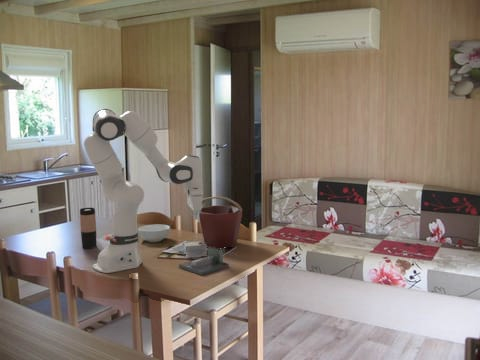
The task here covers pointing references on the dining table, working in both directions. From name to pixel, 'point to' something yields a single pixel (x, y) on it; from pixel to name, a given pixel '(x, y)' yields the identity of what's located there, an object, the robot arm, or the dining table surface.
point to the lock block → (195, 249)
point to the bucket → (220, 224)
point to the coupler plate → (204, 268)
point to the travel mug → (88, 228)
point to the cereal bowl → (154, 232)
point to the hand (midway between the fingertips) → (194, 217)
